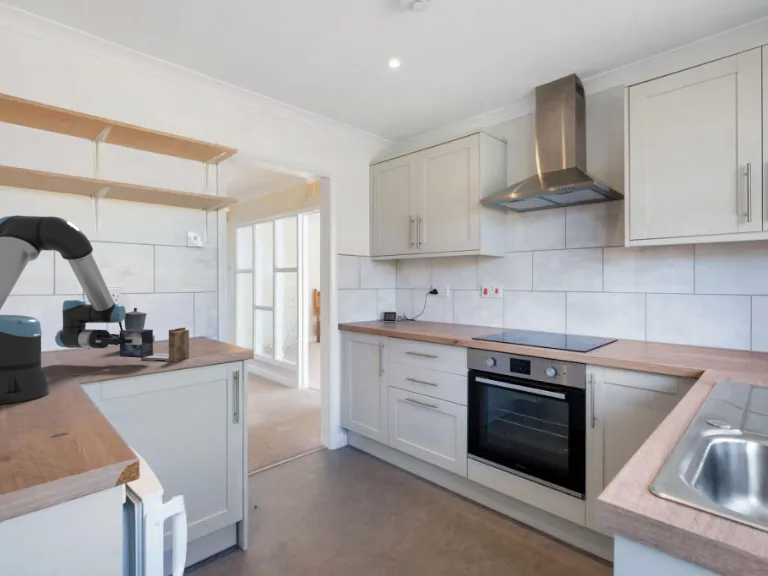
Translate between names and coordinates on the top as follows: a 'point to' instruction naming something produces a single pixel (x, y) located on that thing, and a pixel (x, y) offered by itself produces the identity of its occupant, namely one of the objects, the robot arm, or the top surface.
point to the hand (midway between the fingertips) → (147, 339)
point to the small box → (137, 350)
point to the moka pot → (134, 320)
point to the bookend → (174, 346)
